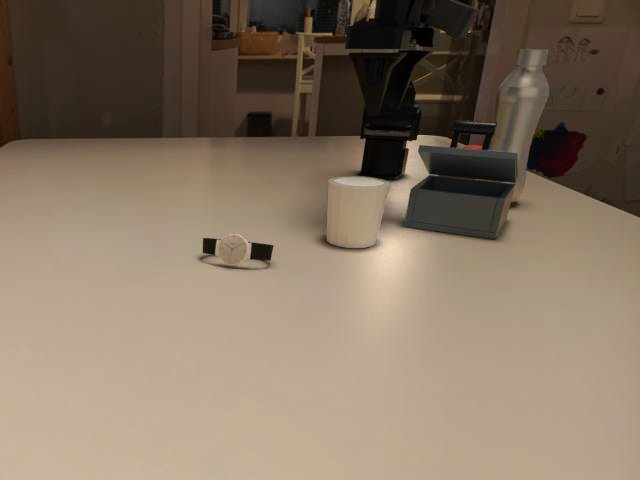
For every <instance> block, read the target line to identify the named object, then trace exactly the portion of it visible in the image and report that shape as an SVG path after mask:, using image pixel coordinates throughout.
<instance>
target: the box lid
mask: <svg viewBox="0 0 640 480" xmlns="http://www.w3.org/2000/svg"><path fill="white" fill-rule="evenodd" d="M496 129H497V122H493V121H484V120H483V121H482V120H467V119H455V120H454V124H453V128H452V137H451V141H450V144H449V146H439V145H438V146H437V145H425V144H424V145H423V144H419V146H418V149H417V153H418V154H419V157H420V159H421V161H422V162H423V165H424V167H425V169H426V171H427V173H428V175H434V176H439V175H441V176H451V177H461V178H471V179H481V180H490V181H500V182H510V183H516V181H517V178H518V167H517V153H515V152H502V151H490V150H489V147H490V144H491V140H492V137H493V136H494V135H495V132H496ZM461 135H477V136H484V139H483V143H482V145H481V146H482V150H477V149H464V147H458V145H459V141H460V139H461Z"/></svg>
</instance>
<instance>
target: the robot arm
mask: <svg viewBox="0 0 640 480" xmlns="http://www.w3.org/2000/svg"><path fill="white" fill-rule="evenodd" d="M475 5H476V0H376V1H375V7H374V15H373V17H369V18H368V20H359V21H358V20H356V21H355V22H354V23H353V24H352V25H351V26H350V27H349V28H348V29H347V30H346V37H345V45H344V50H361V51H352V52H350V51H349V52H348V57H349V58H350V59H351V62H352V65H353V68H354V72H355V75H356V77H357V81H358V84H359V87H360V90H361V94H362V98H363V102H364V107H363V113H362V120H361V128H360V134H359V135H360V137H359V139H360V140H364V139H365V140H364V147H363V153H362V160H361V167H360V171H359V172H357V174H356V176H363V177H372V178H377V179H382V180H388V181H389V180H390V181H395V180H397V179H399V178H401V177H402V176H403V175H404V174H405V173H406V169H407V163H408V157H409V152H410V149H409V148H408V147H407V143H408V142H413V141H418V135H419V129H420V124H421V120H422V115H423V110H422V109H421V108H420V107H421V106H420V101H416V96H417V87H416V84H415V83H414V79H413V76H414V73H415V71H416V69H417V67H418V66H419V64H420V63H422V62H423V61H424V60H425V59H426V58H428V57H429V56H430V55H432V54H433V53H434V50H430V49H429V50H425V49H424V48H438V47H439V41H440V35H441V31H442V32H444V33H445V36H448V37H450V38H454V39H456V40H464V39H466V37H467V35H468V33H469V31H470V30H471V28H472V26H473V25H474V24H475V23H476V22H477V20H478V18H477V17H478V15H479V14H480V11H481V10H480V9H479V8H477V7H475ZM423 49H424V50H423ZM367 130H368V131H367ZM381 131H383V132H381ZM386 131H387V132H386ZM408 132H409V133H408Z"/></svg>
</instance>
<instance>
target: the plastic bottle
mask: <svg viewBox="0 0 640 480" xmlns="http://www.w3.org/2000/svg"><path fill="white" fill-rule="evenodd" d="M548 54H549V48H548V49H547V48H546V49H545V48H521V49H520V48H519V49H517V51H516V54H515V59H514V61H513V65H515V66H514V68H513V70H512V71H511V72H510V73H509V74H508V75H507V76H506V78H504V80H503V81H502V82H501V84H500V85H499V86H498V88H497V90H496V92H495V96H494V97H495V98H494V106H493V107H494V108H493V117H492V122H497V129H496V132H495V135H494V136H493V137H492V140H491V144H490V147H489V150H490V151H502V152H515V153H517V167H518V178H517V181H516V183H513V184H516V185H515V189H514V193H513V196H512V200H511V203H515V202H516V201H517V200H518V199H519V198H520V197H521V196H522V194H523V191H524V189H525V187H526V180H527V166H528V162H529V161H528V160H529V154H530V149H531V145H532V142H533V137H534V135H535V132H536V130H537V127H538V126H537V125H538V123H539V122H540V118H541V116H542V114H543V112H544V109H545V107H546V103H547V102H548V99H549V96H550V85H549V82H548V80H547V77H546V75H545V73H544V71H543V68H544V67H543V66H546V64H547V59H548ZM476 180H481V179H476ZM483 181H490V180H483ZM493 182H500V181H493ZM503 183H510V182H503Z"/></svg>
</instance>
